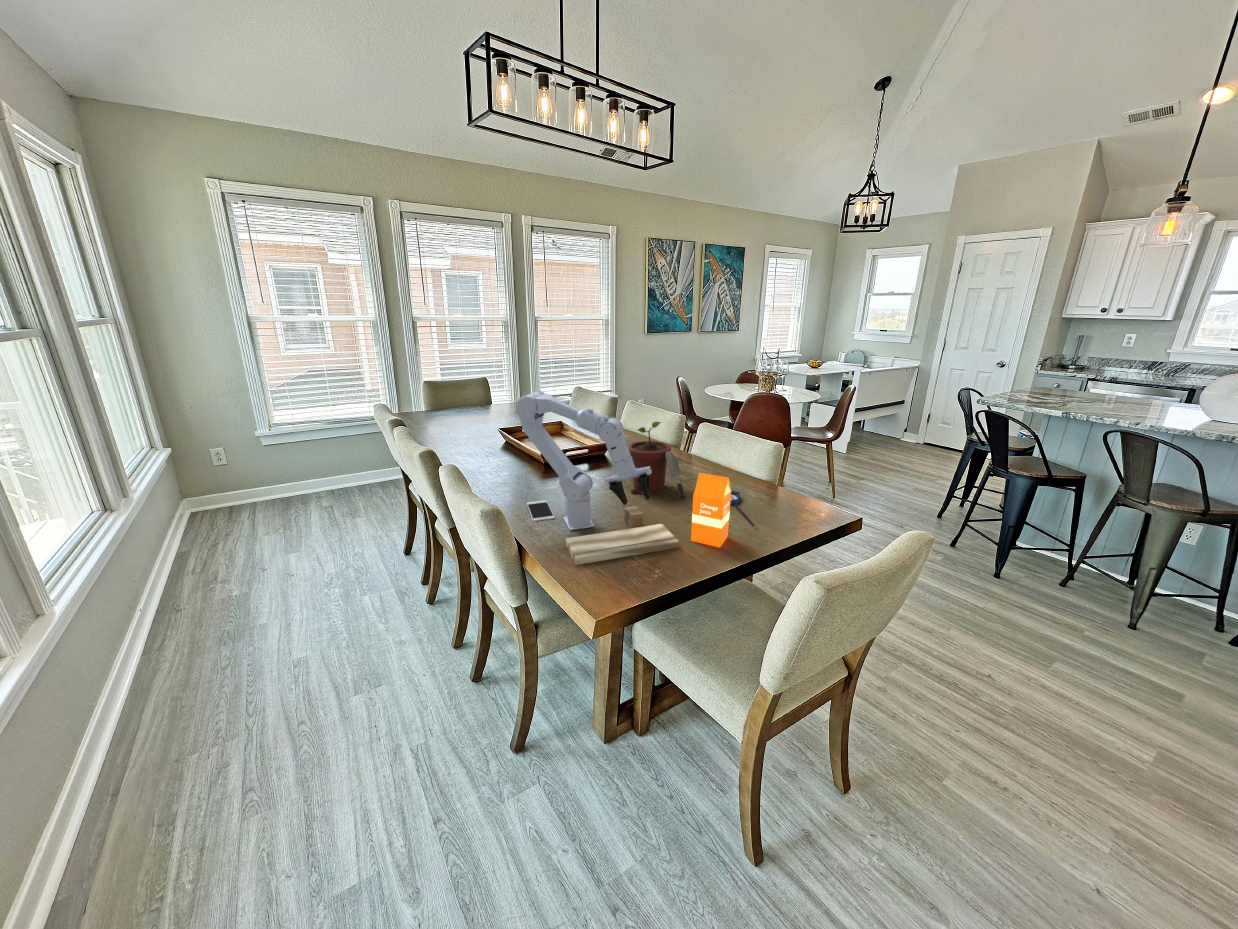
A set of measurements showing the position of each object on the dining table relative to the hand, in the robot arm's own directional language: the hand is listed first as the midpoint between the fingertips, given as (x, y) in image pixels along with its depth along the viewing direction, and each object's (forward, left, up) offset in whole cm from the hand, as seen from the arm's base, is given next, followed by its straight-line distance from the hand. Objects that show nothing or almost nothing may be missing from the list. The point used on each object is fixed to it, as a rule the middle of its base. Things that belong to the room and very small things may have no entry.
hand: (637, 501), depth 142 cm
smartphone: (-25, -25, -11) cm, 37 cm away
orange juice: (+11, +19, -10) cm, 24 cm away
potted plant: (-31, +18, -10) cm, 37 cm away
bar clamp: (-2, +37, -11) cm, 39 cm away
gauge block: (-5, +1, -10) cm, 11 cm away
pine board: (+7, -7, -10) cm, 14 cm away
